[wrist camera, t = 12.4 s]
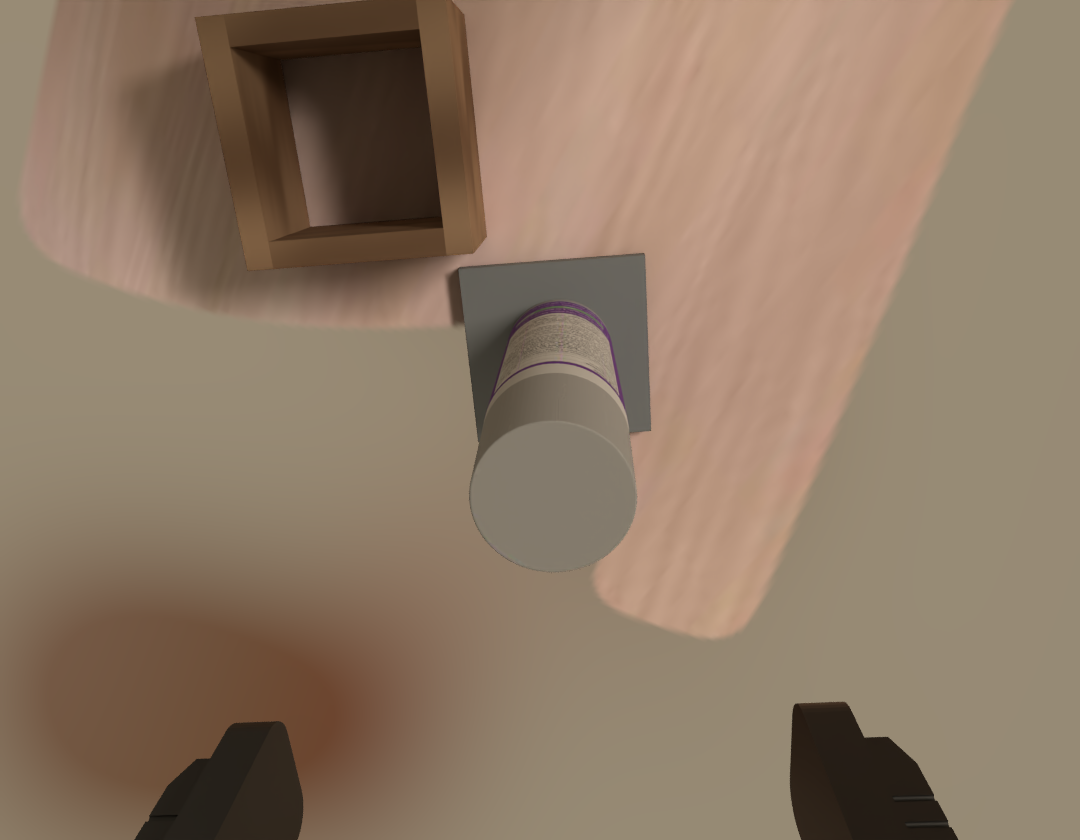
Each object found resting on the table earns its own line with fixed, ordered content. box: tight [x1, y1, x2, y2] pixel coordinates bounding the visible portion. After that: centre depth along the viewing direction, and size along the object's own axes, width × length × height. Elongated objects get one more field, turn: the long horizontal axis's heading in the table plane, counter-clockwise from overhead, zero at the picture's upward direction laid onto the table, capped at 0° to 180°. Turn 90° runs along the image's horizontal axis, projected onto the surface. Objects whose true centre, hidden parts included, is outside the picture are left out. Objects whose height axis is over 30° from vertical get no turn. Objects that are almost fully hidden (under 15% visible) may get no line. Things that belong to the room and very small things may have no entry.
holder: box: [195, 0, 487, 271], centre depth 30 cm, size 9×9×5 cm
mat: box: [458, 253, 651, 442], centre depth 35 cm, size 8×8×1 cm
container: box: [469, 299, 637, 572], centre depth 27 cm, size 5×5×15 cm
